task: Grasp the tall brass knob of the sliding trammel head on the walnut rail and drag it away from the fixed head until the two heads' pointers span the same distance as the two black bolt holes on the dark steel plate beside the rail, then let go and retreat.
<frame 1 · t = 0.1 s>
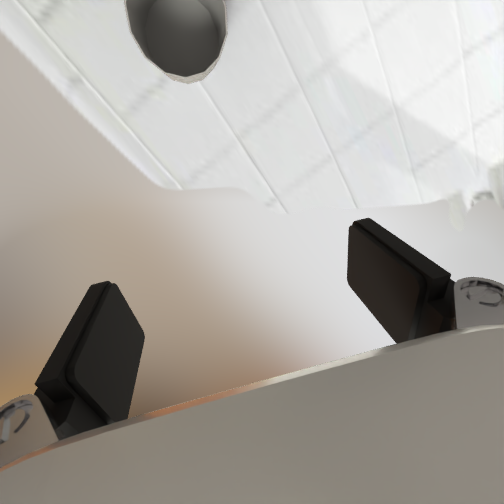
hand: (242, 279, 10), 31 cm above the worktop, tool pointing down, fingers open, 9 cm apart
cup: (183, 41, 31), on the worktop
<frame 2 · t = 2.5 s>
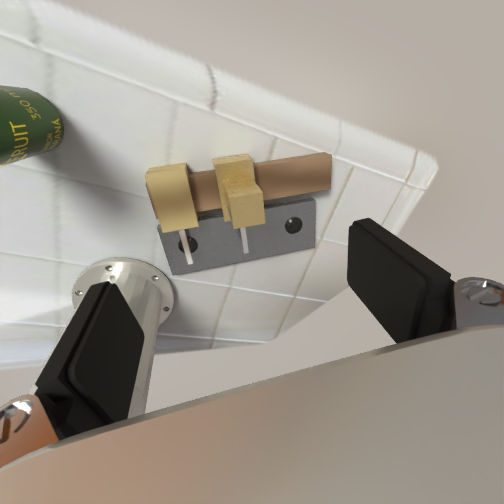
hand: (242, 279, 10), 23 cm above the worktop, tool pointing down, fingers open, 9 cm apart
rail: (242, 182, 31), on the worktop
slider head: (242, 216, 28), point 5 cm above the worktop, slide at 0.0 cm
green soda can: (35, 120, 25), on the worktop
hole plate: (241, 235, 35), on the worktop
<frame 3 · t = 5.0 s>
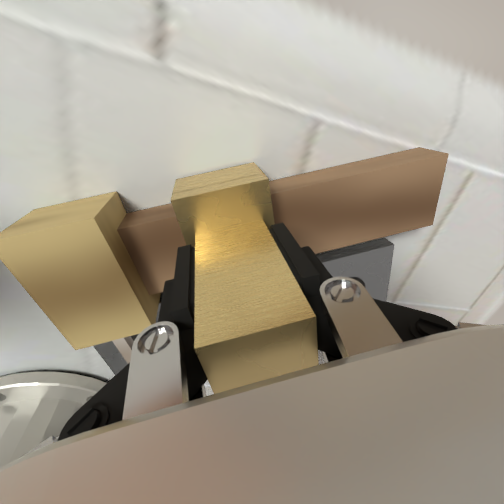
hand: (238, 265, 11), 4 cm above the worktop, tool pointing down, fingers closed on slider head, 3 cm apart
rail: (245, 221, 15), on the worktop
slider head: (250, 313, 12), point 5 cm above the worktop, slide at 0.0 cm, touching gripper
hole plate: (249, 312, 19), on the worktop
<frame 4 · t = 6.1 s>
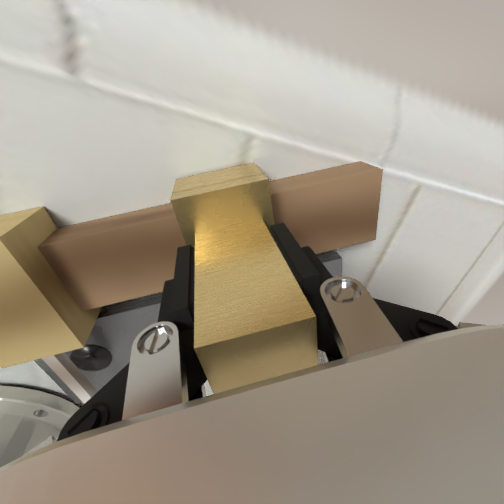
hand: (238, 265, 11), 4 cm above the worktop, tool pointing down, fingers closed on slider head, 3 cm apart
rail: (185, 235, 15), on the worktop
slider head: (249, 313, 12), point 5 cm above the worktop, slide at 3.5 cm, touching gripper
hole plate: (200, 324, 18), on the worktop
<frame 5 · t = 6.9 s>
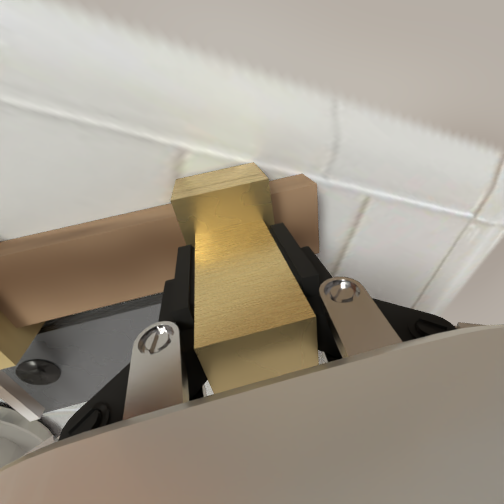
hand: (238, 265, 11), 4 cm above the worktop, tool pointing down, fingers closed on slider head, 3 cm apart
rail: (125, 249, 15), on the worktop
slider head: (250, 313, 12), point 5 cm above the worktop, slide at 6.9 cm, touching gripper
hole plate: (153, 337, 18), on the worktop
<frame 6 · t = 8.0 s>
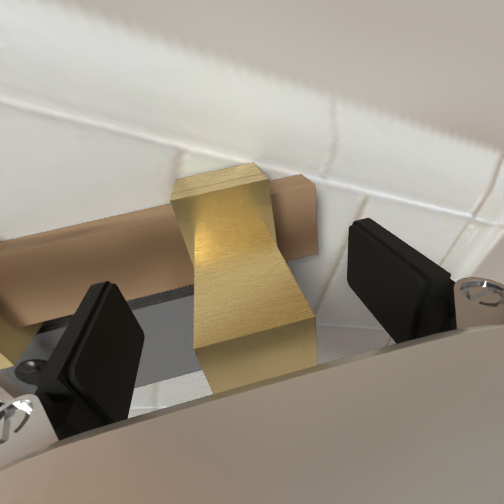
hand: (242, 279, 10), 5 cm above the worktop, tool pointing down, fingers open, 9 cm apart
rail: (123, 250, 15), on the worktop
slider head: (249, 313, 12), point 5 cm above the worktop, slide at 7.0 cm
hole plate: (152, 337, 18), on the worktop
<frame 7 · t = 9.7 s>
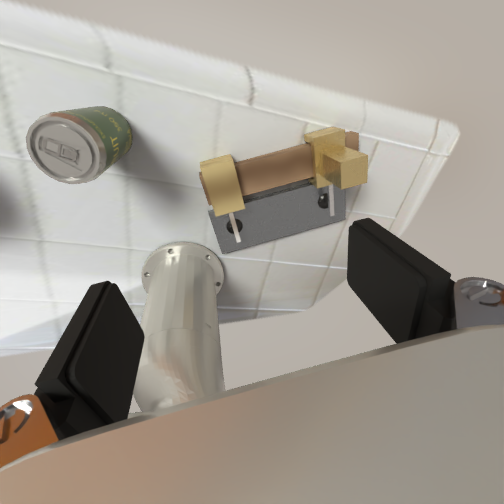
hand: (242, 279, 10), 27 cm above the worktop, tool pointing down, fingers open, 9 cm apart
rail: (278, 166, 36), on the worktop
slider head: (336, 181, 33), point 5 cm above the worktop, slide at 7.0 cm
green soda can: (109, 132, 30), on the worktop
hole plate: (279, 213, 39), on the worktop
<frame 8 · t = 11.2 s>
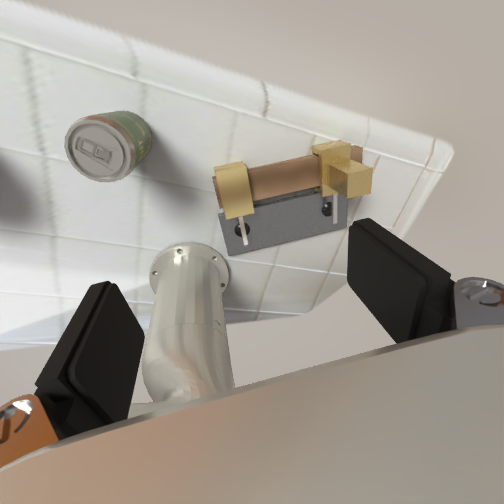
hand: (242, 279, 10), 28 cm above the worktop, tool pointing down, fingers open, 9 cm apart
rail: (286, 174, 38), on the worktop
slider head: (340, 191, 35), point 5 cm above the worktop, slide at 7.0 cm
green soda can: (130, 135, 32), on the worktop
hole plate: (284, 219, 41), on the worktop
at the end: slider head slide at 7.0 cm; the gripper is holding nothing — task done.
